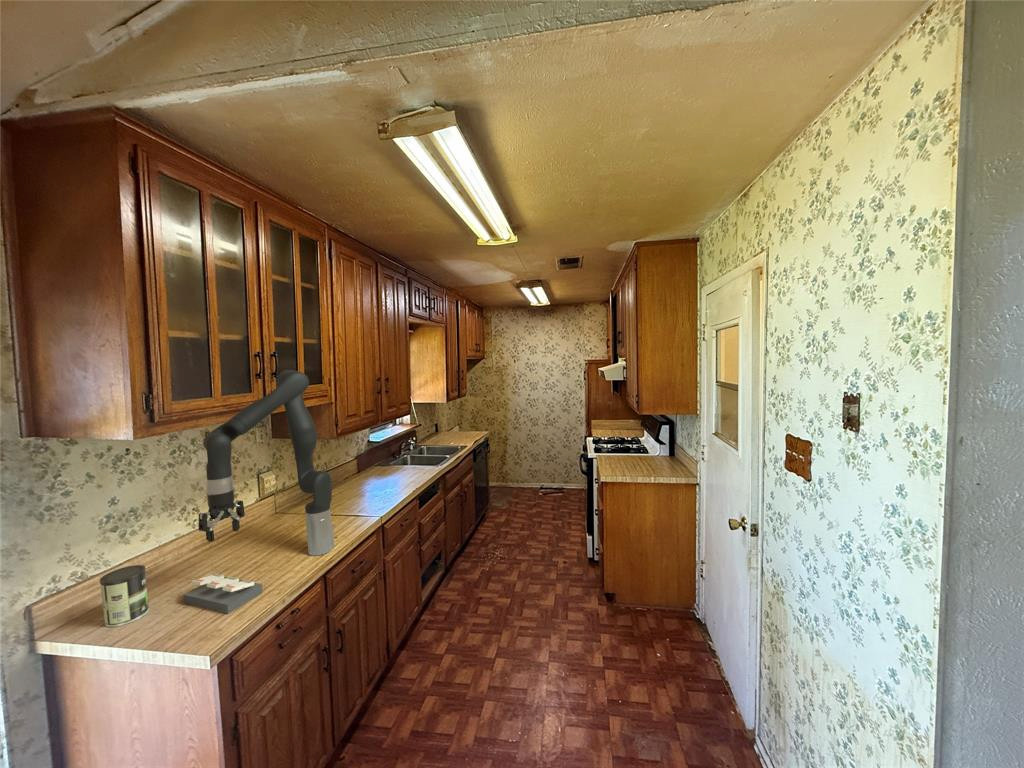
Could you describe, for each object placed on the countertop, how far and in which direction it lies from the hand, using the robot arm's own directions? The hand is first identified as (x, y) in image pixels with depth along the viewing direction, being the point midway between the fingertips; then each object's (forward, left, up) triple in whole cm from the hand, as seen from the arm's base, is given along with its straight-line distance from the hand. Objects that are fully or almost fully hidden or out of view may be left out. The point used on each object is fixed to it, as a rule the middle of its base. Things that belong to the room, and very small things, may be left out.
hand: (223, 535), depth 142 cm
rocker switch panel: (+5, +5, -18) cm, 20 cm away
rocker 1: (+5, -2, -14) cm, 15 cm away
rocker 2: (+5, +5, -14) cm, 16 cm away
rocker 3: (+5, +12, -14) cm, 19 cm away
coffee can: (+21, -15, -19) cm, 32 cm away
